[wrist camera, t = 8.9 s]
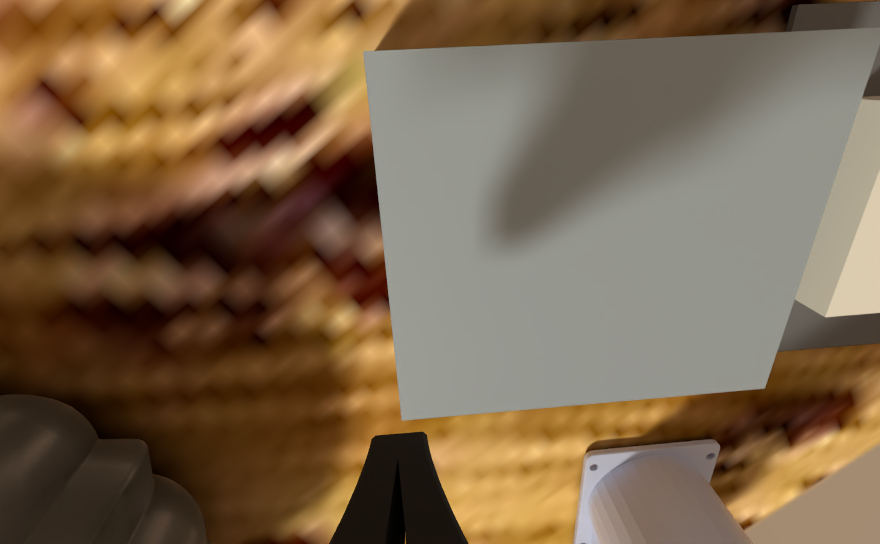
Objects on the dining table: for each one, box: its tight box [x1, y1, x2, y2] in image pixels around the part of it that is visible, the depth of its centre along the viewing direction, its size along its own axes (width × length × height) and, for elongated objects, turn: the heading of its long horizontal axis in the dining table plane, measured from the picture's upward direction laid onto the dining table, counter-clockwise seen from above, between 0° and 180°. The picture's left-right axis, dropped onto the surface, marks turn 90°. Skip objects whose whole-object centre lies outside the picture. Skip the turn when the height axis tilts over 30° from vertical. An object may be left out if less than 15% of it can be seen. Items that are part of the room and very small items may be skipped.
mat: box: [777, 1, 880, 352], centre depth 20 cm, size 16×12×1 cm
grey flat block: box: [363, 28, 880, 420], centre depth 18 cm, size 14×16×4 cm
